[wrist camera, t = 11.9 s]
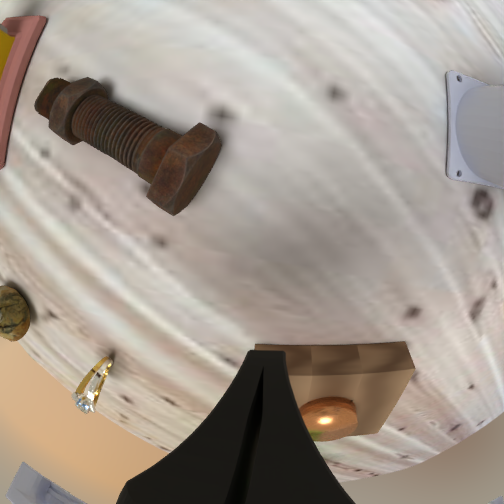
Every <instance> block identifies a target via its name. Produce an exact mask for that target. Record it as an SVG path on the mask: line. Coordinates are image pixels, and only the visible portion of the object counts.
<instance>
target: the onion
mask: <svg viewBox="0 0 504 504" xmlns="http://www.w3.org/2000/svg"><path fill="white" fill-rule="evenodd" d="M29 326H30V313H29V308H28V306H27V303H26V301H25V300H24V298H23V297H22V296H21V295H20V294H19V293H18V292H17V290H16V289H13V288H10V287H8V286H0V336H1V337H3V338H6V339H8V340H10V341H17V340H19V339H21V338H22V337H23V336H24V335H25V334H26V332H27V331H28V329H29Z"/></svg>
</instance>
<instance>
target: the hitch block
mask: <svg viewBox="0 0 504 504" xmlns="http://www.w3.org/2000/svg"><path fill="white" fill-rule="evenodd" d="M254 350H278V351H284V352H286V365H287V371H288V375H289V380H290V383H291V387H292V390H293V393H294V396H295V400H296V402H297V405H298V408H300V407H301V406H302V405H304V404H305V403H307V402H309V401H312V400H315V399H318V398H323V397H343V398H347V399H349V400H351V401H353V402H354V404H355V406H356V413H357V421H358V426H357V428H356V429H355V431H353V432H352V433H351V434H349V435H347V436H357V435H367V434H375V433H378V431H379V430H380V428H381V427H382V425H383V424H384V422H385V421H386V419H387V418H388V416H389V415H390V413H391V411H392V410H393V408H394V407H395V405H396V403H397V402H398V400H399V398H400V396H401V395H402V393H403V391H404V389H405V388H406V386H407V384H408V382H409V380H410V378H411V376H412V374H413V372H414V371H415V369H416V368H415V366H414V363H413V360H412V358H411V355H410V353H409V350H408V348H407V345H406V343H405V342H393V343H379V344H360V345H323V346H301V345H264V344H255V349H254ZM345 437H346V436H345Z"/></svg>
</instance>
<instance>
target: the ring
mask: <svg viewBox="0 0 504 504" xmlns="http://www.w3.org/2000/svg"><path fill="white" fill-rule="evenodd" d="M112 364H113V360H112V359H110V358H109V357H108V356H106V357H104V358H103V359H102V360H101V361H99V362H98V363H97V364H96V365H95V366H94V367H93V368H92V369H91V371H90V372H89V373H88V374H87V375H86V376H85V378H84V379H83V380H82V382H81V383H80V385H79V386H78V388H77V390H76V392H74V393H73V394H72V398H73V399H74V400H75V401H76V403H75V405H76V406H77V408H80V407H81V408H80V410H81V411H82V412H84V413H86V414H87V413H88V412H89V411H91V412H95V406H96V403H97V400H98V397H99V394H100V392H101V389H102V387H103V384H104V382H105V379H106V377H107V375H108V372H109V370H110V368H111V366H112ZM97 371H98V372H97ZM96 372H97V374H96V375H95V373H96ZM94 375H95V377H94V379H93V381H92V383H91V385H90V388H89V392H88V396H87V397H86V396H85V395H84V394H82V393H84V390H85V388H86V386H87V384H88V382H89V381H90V379H91V378H92V377H93V376H94ZM96 390H97V391H96ZM95 392H96V394H95ZM94 394H95V397H94ZM78 396H81V397H80V398H78Z"/></svg>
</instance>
